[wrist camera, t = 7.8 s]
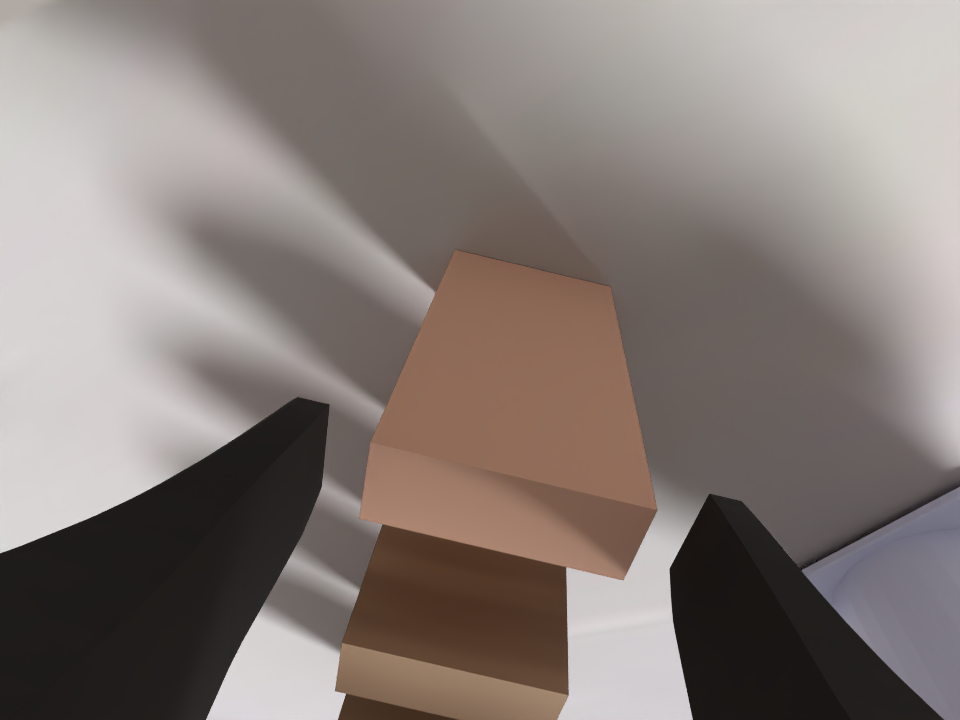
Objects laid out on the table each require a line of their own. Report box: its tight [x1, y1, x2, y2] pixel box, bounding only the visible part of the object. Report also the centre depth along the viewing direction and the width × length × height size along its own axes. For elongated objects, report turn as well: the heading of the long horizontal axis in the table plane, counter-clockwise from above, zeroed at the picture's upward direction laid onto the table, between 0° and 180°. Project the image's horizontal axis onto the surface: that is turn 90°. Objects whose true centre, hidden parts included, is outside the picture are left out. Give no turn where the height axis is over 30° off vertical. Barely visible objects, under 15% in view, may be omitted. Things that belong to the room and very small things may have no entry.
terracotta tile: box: [359, 250, 657, 580], centre depth 15 cm, size 2×5×10 cm, turn 78°
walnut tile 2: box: [335, 524, 569, 720], centre depth 18 cm, size 2×5×10 cm, turn 78°
